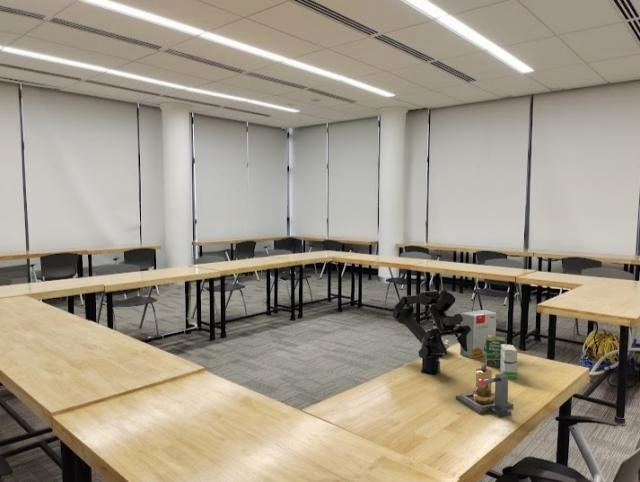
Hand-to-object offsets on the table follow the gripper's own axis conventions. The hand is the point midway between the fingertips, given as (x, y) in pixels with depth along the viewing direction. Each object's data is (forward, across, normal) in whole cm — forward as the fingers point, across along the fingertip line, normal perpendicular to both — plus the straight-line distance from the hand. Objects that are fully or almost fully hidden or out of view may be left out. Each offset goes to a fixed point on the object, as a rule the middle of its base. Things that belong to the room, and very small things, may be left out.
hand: (456, 352), depth 171 cm
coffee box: (+1, +30, +19) cm, 35 cm away
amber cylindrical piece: (+20, 0, -2) cm, 20 cm away
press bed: (+22, -1, -3) cm, 22 cm away
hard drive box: (-10, +34, +30) cm, 46 cm away
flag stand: (-17, +17, +37) cm, 44 cm away
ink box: (+8, +28, +11) cm, 31 cm away
